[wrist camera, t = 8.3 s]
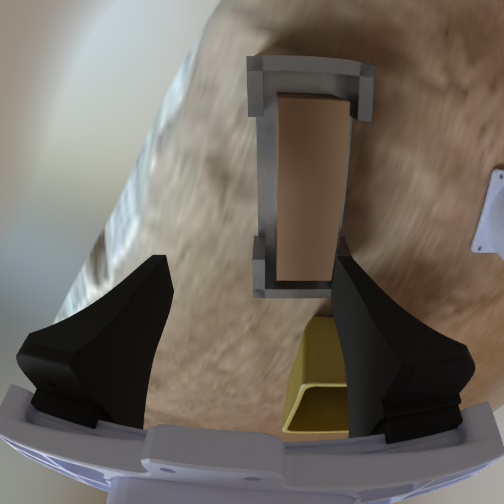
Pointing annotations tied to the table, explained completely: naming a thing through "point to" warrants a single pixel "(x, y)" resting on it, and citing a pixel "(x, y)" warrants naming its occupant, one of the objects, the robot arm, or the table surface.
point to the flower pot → (317, 382)
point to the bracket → (265, 110)
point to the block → (309, 183)
